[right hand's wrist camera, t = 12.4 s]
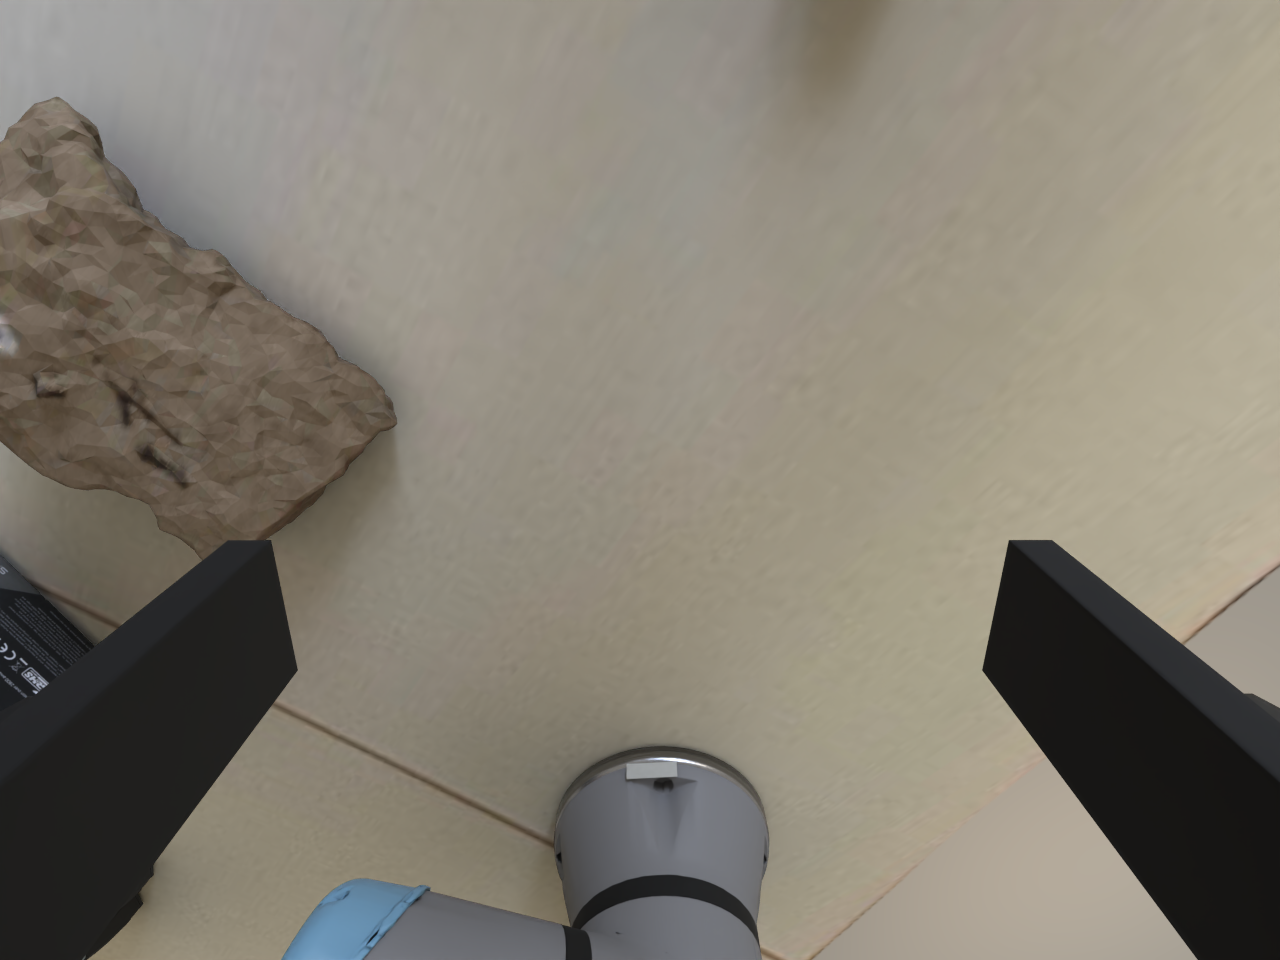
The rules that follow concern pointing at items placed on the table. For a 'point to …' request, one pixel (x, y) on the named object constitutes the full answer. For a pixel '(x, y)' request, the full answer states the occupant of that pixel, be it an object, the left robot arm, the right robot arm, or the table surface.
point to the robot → (121, 917)
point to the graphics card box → (32, 639)
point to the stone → (157, 354)
